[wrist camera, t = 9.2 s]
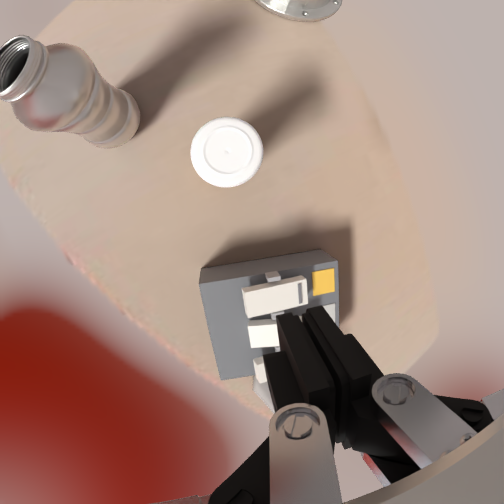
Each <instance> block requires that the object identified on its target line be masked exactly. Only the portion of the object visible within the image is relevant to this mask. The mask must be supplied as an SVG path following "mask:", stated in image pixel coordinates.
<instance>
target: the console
mask: <svg viewBox="0 0 504 504" xmlns="http://www.w3.org/2000/svg"><path fill="white" fill-rule="evenodd" d="M300 275H302V276H303V277H304V278H306V280H307V295H308V304H305V305H301V306H297V307H293V308H289V309H285V310H281V311H277V312H273V313H269V314H264V315H260V316H256V317H251V318H248V317H247V315H246V313H245V306H244V300H243V294H242V288H245V287H250V286H255V285H259V284H264V283H269V282H274V281H279V280H282V279H287V278H292V277H296V276H300ZM199 287H200V292H201V297H202V302H203V306H204V311H205V316H206V320H207V325H208V329H209V333H210V338H211V342H212V346H213V350H214V355H215V359H216V363H217V367H218V371H219V375H220V379H221V380H227V379H233V378H240V377H246V376H252V375H256V374H255V368H254V362H253V359H255V358H259V357H262V356H263V355H264V354H269V353H274V352H279V351H280V346H273V347H259V348H251V344H250V338H249V332H248V322H249V320H263V319H272V320H276V315H280V314H285V313H289V312H291V313H292V314H293V316H294V315H298V316H302V314H303V313H306V309H307V308H312V307H316V306H320V305H322V306H323V307H324V309H325V310H326V311H327V313H328V314H329V315H330V317H331V318H332V319H333V321H334V322H335V323H336V325H337V326H338V327H339V280H338V260H336V259H335V258H333V257H332V256H330V255H329V254H327V253H326V252H324V251H323V250H321V249H319V250H313V251H307V252H301V253H294V254H288V255H282V256H276V257H270V258H264V259H258V260H252V261H245V262H239V263H233V264H227V265H220V266H214V267H208V268H201V272H200V279H199Z"/></svg>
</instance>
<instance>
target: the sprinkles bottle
mask: <svg viewBox="0 0 504 504" xmlns="http://www.w3.org/2000/svg"><path fill="white" fill-rule="evenodd" d="M262 159H263V144H262V140H261V138H260V136H259V134H258V133H257V131H256V130H255V129H254V128H253V127H252V126H251V125H250V124H249V123H247V122H246V121H244V120H241V119H239V118H235V117H220V118H216V119H213V120H211V121H209V122H207V123H206V124H204V125H203V126H202V127H201V128H200V129H199V130H198V132H197V133H196V135H195V136H194V138H193V141H192V144H191V160H192V164H193V166H194V168H195V170H196V172H197V173H198V175H199V176H200V177H201V178H202V179H204V180H205V181H206V182H208V183H210V184H212V185H214V186H218V187H234V186H238V185H241V184H243V183H245V182H247V181H248V180H249V179H251V178H252V177H253V176H254V175H255V174H256V172H257V171H258V169H259V167H260V165H261V163H262Z"/></svg>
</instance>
